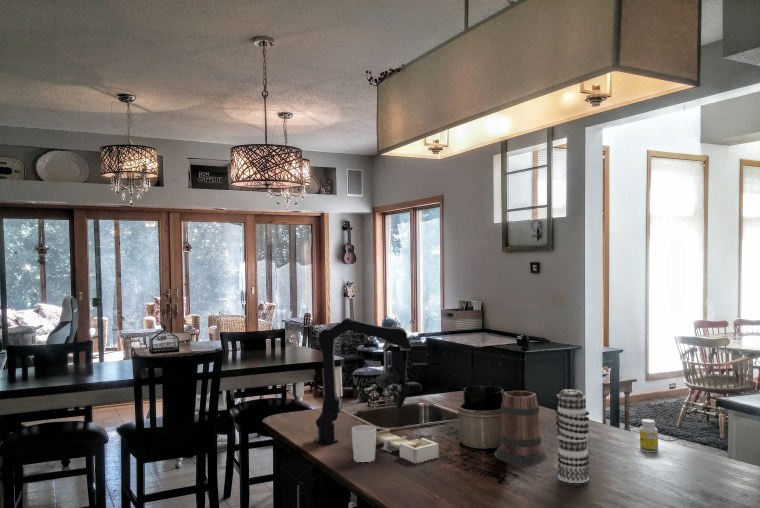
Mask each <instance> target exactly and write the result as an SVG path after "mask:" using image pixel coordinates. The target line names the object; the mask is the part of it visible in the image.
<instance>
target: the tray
mask: <svg viewBox="0 0 760 508" xmlns="http://www.w3.org/2000/svg"><path fill="white" fill-rule="evenodd" d="M420 446H422V447H418V448H414V447H411V446H408V445H406V444H403V443H400V450H399V458H400V457H401V458H400V459H402V458H404V459H403V460H405V459H406V460H405V461H407V460H408V461H407V462H409V461H411V462H410V463H412V462H413V463H412V464H414V463H415V464H414V465H416V463H417V464H421V463H424V461H425V462H427V461H428V460H429V461H432V460H435V458H436V459H439V458H440V453H439V451H440V448H439V443H438V442H436V441H434V442H432V441H430V440H427V439H424V438H421V445H420ZM431 459H432V460H431ZM420 462H421V463H420Z"/></svg>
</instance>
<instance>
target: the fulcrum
mask: <svg viewBox="0 0 760 508" xmlns="http://www.w3.org/2000/svg"><path fill="white" fill-rule="evenodd" d="M402 438H403V439H406V440H408V436H406V435H403V436H402ZM380 448H381V449H380V450H382V449H383V450H382V451H384V450H386V451H388V452H387V453H389V452H390V453H393V452H392V451H394V452H396V451H397V450H398V451H400V449H398V448H396V447H393V446H391V445H389V441H387V440H384V442H383V447H380ZM386 451H385V452H386ZM398 451H397V452H398Z"/></svg>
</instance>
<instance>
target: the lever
mask: <svg viewBox="0 0 760 508" xmlns="http://www.w3.org/2000/svg"><path fill="white" fill-rule="evenodd" d="M421 438H424V439H427V440H430V441H432V442H436V437H433V434H431V433H429V432H422V433H419V438H416V439H411V440H408V439H407V440H406V439H403V437H401V436H398V435H396V434H393V433H391V429H390V428H388V429H384V430H380V431H376V441H377V440H378V441H380V442H382V443H384V440H387V441H389V445H391V446H393V447H396V448H398V449H400V443H403V444H406V445H408V446H411V447H414V448H416V447H417V446H421Z"/></svg>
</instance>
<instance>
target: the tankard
mask: <svg viewBox="0 0 760 508" xmlns="http://www.w3.org/2000/svg"><path fill="white" fill-rule="evenodd" d="M500 406H501V407H500V411H501V426H500V427H501V429H500V434H499V439H500V446H498V447H497V449H496V450H495V452H494V454H493V455H494V457H495V458H496V459H498V460H500V461H502V462H504V463H505V462H506V463H511V464H516V465H517V464H518V465H535V464H534V463H537V464H541V462H542V463H544V462H546V461H547V460H548V459H549V456H548V454H546V452H545V450H544V449H543V448H542V445H541V443H542V436H541V431H540V430H541V429H540V428H541V427H540V416H539V415H540V414H539V412H540V406H539V404H538V399H537V393H536V392H532V391H527V390H512V391H509V390H508V391H504V392H503V396H502V403H501V405H500ZM547 458H548V459H547ZM545 460H546V461H545Z"/></svg>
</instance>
